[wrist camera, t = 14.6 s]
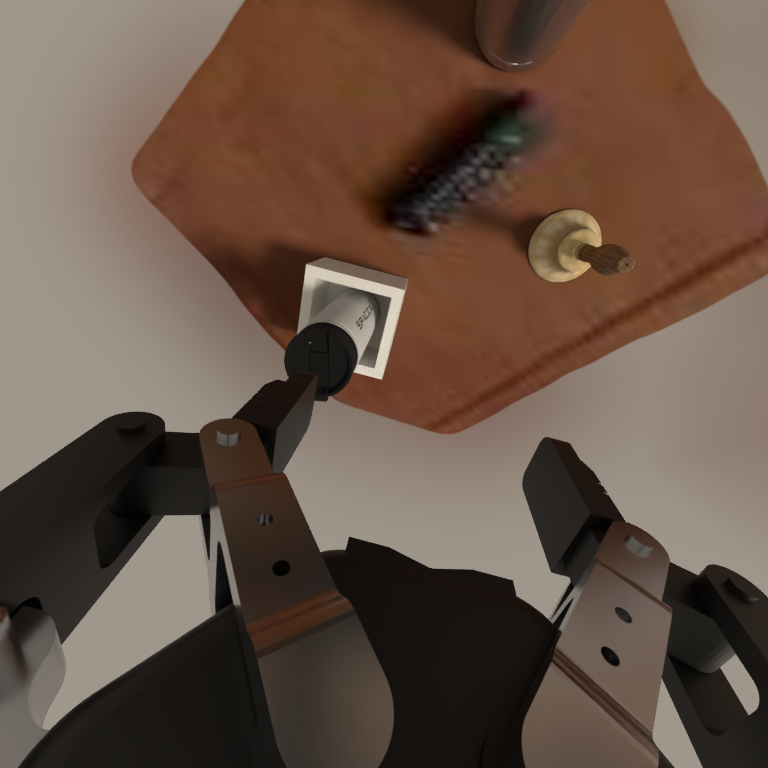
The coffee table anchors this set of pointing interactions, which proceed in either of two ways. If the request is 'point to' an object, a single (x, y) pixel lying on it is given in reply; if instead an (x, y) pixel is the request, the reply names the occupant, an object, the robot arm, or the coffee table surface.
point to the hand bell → (574, 248)
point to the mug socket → (336, 276)
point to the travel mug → (334, 341)
